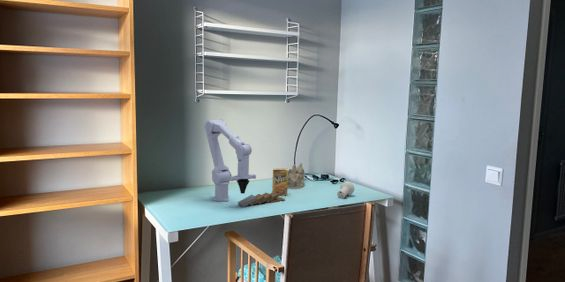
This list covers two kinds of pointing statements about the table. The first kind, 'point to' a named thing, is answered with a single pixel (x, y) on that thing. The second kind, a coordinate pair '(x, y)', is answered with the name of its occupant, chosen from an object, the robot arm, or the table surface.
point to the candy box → (280, 181)
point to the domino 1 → (247, 200)
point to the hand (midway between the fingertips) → (242, 193)
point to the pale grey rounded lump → (345, 189)
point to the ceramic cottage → (296, 177)
